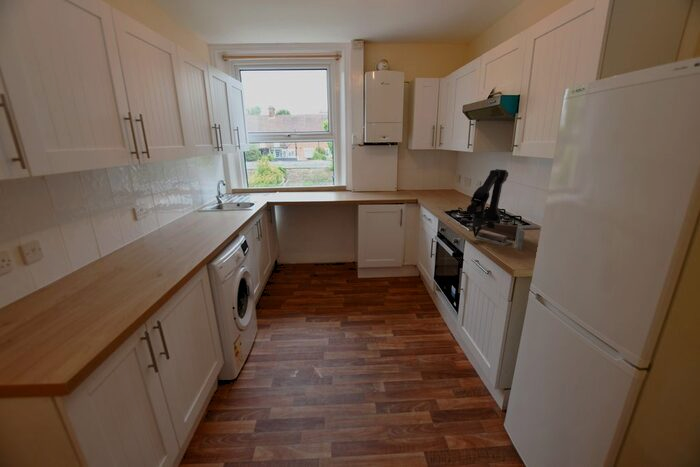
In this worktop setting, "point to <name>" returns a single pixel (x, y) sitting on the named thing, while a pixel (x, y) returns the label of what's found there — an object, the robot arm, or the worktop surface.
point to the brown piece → (509, 232)
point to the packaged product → (492, 237)
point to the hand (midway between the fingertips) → (475, 236)
